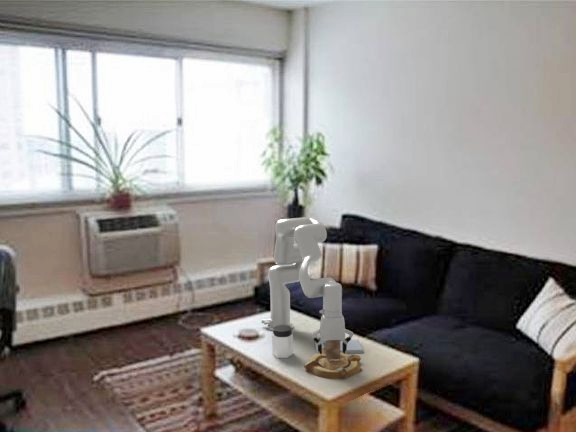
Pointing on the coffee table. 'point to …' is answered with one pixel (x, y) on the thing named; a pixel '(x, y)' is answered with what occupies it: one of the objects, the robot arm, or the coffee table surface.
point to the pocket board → (352, 346)
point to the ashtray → (333, 366)
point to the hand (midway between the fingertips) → (332, 352)
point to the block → (332, 349)
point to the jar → (282, 341)
